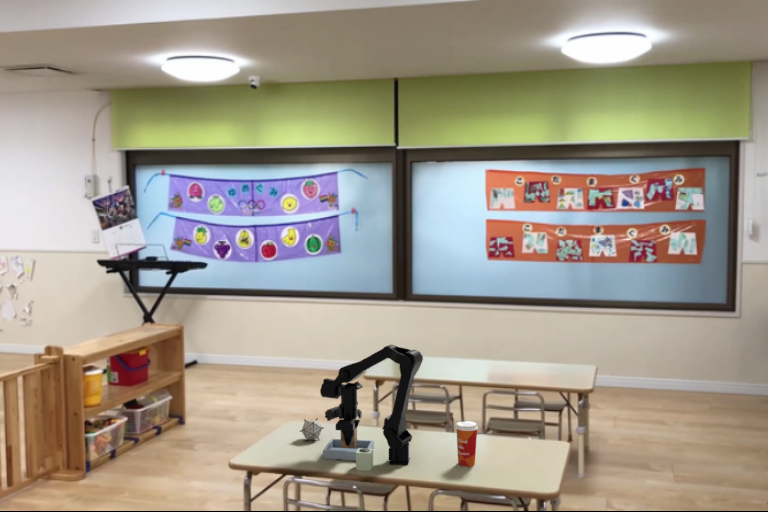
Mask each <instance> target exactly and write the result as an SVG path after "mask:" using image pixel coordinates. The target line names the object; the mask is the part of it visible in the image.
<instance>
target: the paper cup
mask: <svg viewBox="0 0 768 512" xmlns="http://www.w3.org/2000/svg"><path fill="white" fill-rule="evenodd" d="M478 429H479V428H478V424H477V423H476V422H475V421H469V420H468V421H467V420H466V421H459V422H458V421H457V423H456V425H455V430H456V446H457V461H458V462H457V463H458V466H461V467H464V468H465V467H466V468H469V467H474V466H475V464H476V454H477V453H476V451H477V450H476V449H477V448H476V447H477V438H478V437H477V433H478ZM473 465H474V466H473Z"/></svg>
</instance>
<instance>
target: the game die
mask: <svg viewBox="0 0 768 512" xmlns="http://www.w3.org/2000/svg"><path fill="white" fill-rule="evenodd" d="M303 420H304V424H303V425H302V428H301V430H299V432H301V433H302V434H303V436H304V438H305V442H307V441H308V440H318V441H320V438H319V437H320V435H321V432H322V430H324V429H325V427H322V426H321V424H320V423H319V421H318V417H317V418H315V419H308V420H306V419H305V418H304V419H303Z"/></svg>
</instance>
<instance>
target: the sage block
mask: <svg viewBox="0 0 768 512" xmlns="http://www.w3.org/2000/svg"><path fill="white" fill-rule="evenodd" d="M373 467H374V450H373V449H368V448H358V450H357V452H356V461H355V471H363V472H365V471H366V472H367V471H368V472H371V471H372V469H373Z"/></svg>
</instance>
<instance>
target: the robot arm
mask: <svg viewBox="0 0 768 512" xmlns="http://www.w3.org/2000/svg"><path fill="white" fill-rule="evenodd" d="M387 359H389V360H391V361H393V362H394V363H396V364H398V365H399V366H398V367H399V372H400V377H399V383H398V386H397V391H396V396H395V398H394V399H395V400H394V403H393V407H392V413H391V414H389V415H388V416H386V417H385V418H384V420H383V426H382V428H381V430H382V434H383V437H384V438H385V439H386V442H387V444H388V461H389V464H390V465H409V462H410V460H411V457H410V442H411V441H412V439H413V435H412V434H411V433H410V432H409V431H408V429H407V418H406V413H407V412H406V411H407V409H408V404H409V400H410V396H411V392H412V386H413V382H414V378H415V376H416V374H417V373H418V372H419V370H420V367H421V365H422V362H423V360H424V356H423V355H422V353H421V352H420V350H417V349H409V348H406V347H401V346H400V347H399V346H397V345H395V344H388V345H386V346H384V347H383V348H382V349H380V350H378V351H376V352H374V353H372V354H371V355H369V356H367V357H365V358H363V359H361V360H360V361H359V360H358V361H356V362H352V363H350V364H347V365H344V366H342V367H340V368H339V369H338V373H337V374H338V375H337V376H336V377H335V379H331V378H323V382H322V384H321V387H320V391H319V392H320V396H321V397H322V398H326V399H334V400H338V399H339V398H340V404H338V406H334V407H332V408H329V409H327V410H326V411H325V412H324V417H325V418H326V419H327V420H326V421H328V422H330V421H331V420H335V419H339V420H338V421H337V422H336V423H335V431H340V432H341V431H342V432H343V435H344V439H345V443H346V446H349V445H350V442H351V439H352V437H353V434H354V431H355V428H357V429H358V427H359V424H360V422H361V420H360V419H361V418H362V417H363V414H362V410H361V409H360V408H359V409H358V406H359V401H358V390H361V389H362V388H363V387H364V386H363V385H362V384H361V383H360V382H359V381H355V380H357V379H358V378H360V377H361V376H362V375H363V374H364V373H365V372H366V371H367V370H369V369H370V368H372V367H375V366H376V365H378V364H380V363H382V362H384V361H385V360H387ZM353 381H355V382H353ZM344 383H345V384H344ZM325 418H324V419H325ZM357 418H358V419H357Z"/></svg>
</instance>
